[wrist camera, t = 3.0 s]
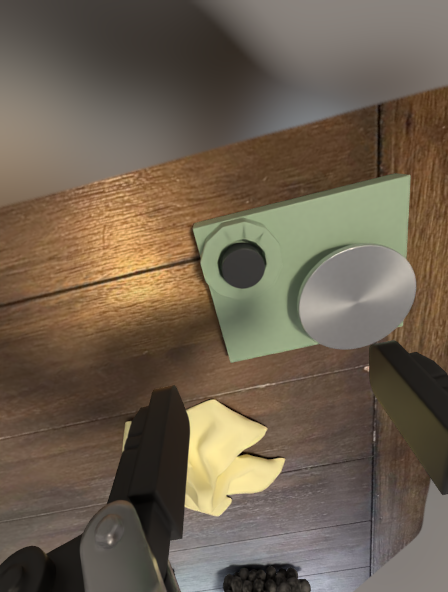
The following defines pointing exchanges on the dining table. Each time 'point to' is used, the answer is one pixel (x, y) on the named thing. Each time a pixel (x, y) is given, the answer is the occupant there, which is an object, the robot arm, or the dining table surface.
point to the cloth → (222, 458)
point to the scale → (294, 256)
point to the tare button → (242, 265)
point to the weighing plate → (356, 296)
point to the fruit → (265, 581)
